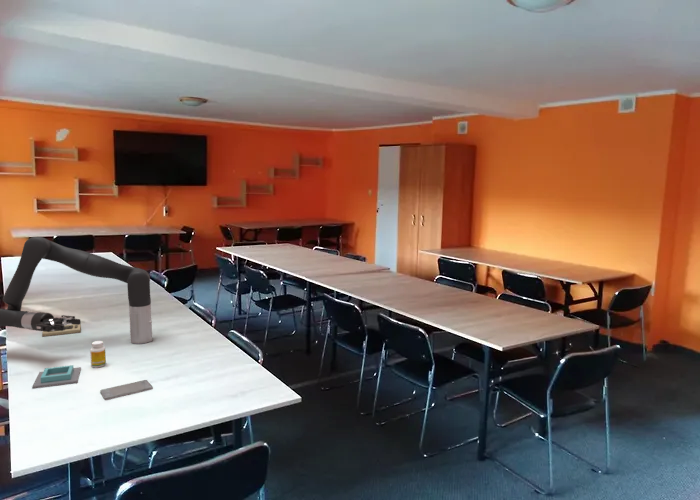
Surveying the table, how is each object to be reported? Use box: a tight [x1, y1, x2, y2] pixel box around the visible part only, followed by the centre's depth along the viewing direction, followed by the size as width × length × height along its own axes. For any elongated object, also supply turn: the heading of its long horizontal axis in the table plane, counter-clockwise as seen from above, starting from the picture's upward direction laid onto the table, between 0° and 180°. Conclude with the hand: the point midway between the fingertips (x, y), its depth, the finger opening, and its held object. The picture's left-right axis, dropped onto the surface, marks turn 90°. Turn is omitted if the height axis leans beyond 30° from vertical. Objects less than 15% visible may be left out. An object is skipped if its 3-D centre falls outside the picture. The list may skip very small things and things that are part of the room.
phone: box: [99, 379, 153, 401], centre depth 175 cm, size 8×16×1 cm, turn 128°
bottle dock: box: [31, 364, 82, 389], centre depth 183 cm, size 14×14×3 cm
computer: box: [41, 323, 82, 338], centre depth 236 cm, size 16×8×3 cm, turn 117°
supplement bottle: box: [89, 340, 107, 368], centre depth 196 cm, size 5×5×10 cm
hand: (72, 324), depth 197 cm, fingers open, 8 cm apart
